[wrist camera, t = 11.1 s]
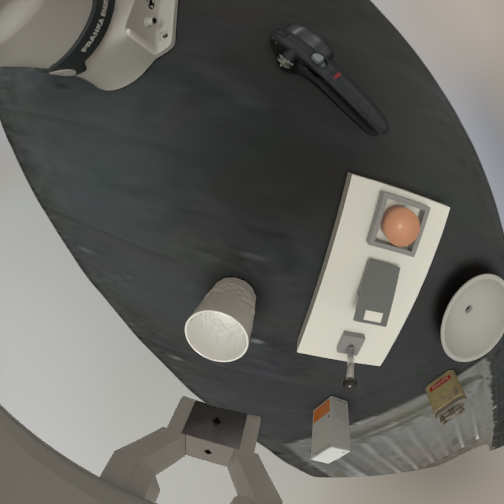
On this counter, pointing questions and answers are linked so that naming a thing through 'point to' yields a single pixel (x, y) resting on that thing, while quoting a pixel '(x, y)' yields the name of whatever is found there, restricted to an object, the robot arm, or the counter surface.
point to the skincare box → (330, 430)
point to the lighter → (446, 397)
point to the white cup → (223, 321)
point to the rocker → (376, 293)
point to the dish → (474, 318)
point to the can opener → (325, 74)
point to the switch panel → (353, 268)
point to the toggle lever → (350, 370)
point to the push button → (400, 225)
